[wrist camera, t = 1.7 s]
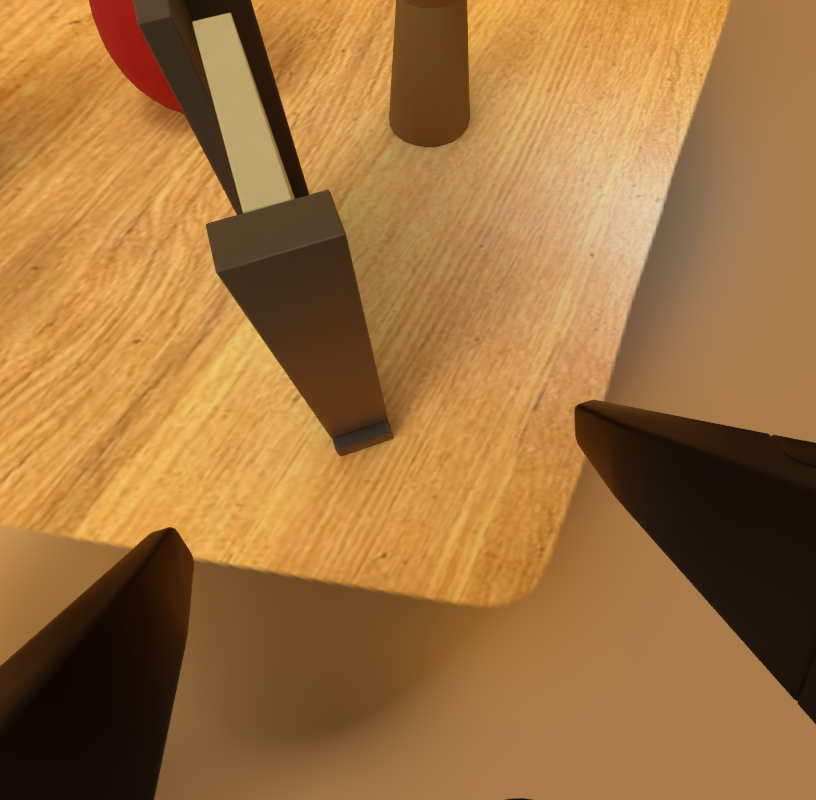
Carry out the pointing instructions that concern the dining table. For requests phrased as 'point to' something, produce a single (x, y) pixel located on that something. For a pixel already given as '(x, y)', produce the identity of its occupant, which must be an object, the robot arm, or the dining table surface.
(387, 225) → the dining table surface
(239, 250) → the door
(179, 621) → the robot arm
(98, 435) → the dining table surface
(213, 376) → the dining table surface
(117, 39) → the apple
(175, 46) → the wooden frame stand
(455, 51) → the wooden game pawn
